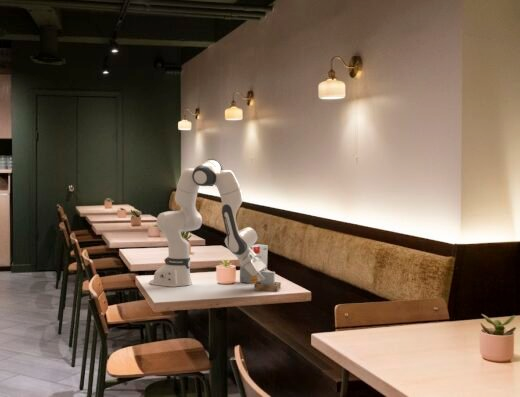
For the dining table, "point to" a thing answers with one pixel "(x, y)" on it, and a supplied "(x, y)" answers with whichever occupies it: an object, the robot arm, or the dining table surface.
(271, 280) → the gray rectangular block
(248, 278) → the hard drive box
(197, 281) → the dining table surface
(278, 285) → the walnut box
